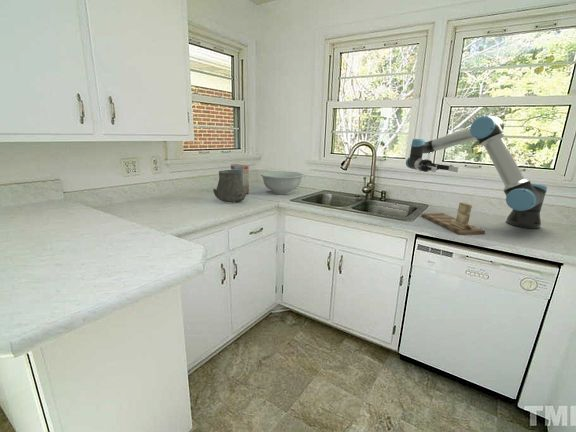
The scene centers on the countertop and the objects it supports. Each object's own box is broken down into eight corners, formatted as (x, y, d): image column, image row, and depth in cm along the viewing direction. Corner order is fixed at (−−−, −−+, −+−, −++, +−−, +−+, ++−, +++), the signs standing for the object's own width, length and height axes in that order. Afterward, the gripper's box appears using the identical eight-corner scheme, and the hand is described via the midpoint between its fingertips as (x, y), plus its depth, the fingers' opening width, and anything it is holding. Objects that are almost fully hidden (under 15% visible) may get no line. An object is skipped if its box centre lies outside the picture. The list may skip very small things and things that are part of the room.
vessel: (225, 207, 178) (224, 174, 172) (209, 200, 193) (207, 170, 188) (254, 202, 191) (254, 172, 186) (237, 196, 207) (236, 168, 202)
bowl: (260, 188, 238) (260, 170, 234) (299, 188, 242) (300, 171, 237) (261, 197, 207) (261, 176, 203) (305, 197, 211) (306, 177, 207)
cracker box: (249, 193, 216) (249, 165, 210) (242, 194, 212) (242, 166, 206) (237, 190, 225) (236, 163, 219) (230, 191, 221) (230, 164, 215)
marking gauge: (459, 223, 155) (463, 201, 152) (474, 230, 145) (480, 206, 142) (450, 223, 154) (455, 201, 151) (466, 230, 144) (471, 207, 141)
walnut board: (420, 215, 173) (421, 213, 172) (442, 215, 175) (442, 212, 174) (459, 234, 142) (460, 231, 142) (484, 233, 145) (485, 230, 144)
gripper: (440, 171, 186) (464, 176, 166) (404, 170, 182) (425, 176, 162) (442, 159, 184) (467, 163, 164) (406, 158, 180) (427, 162, 160)
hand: (446, 169), depth 163 cm, fingers open, 13 cm apart
